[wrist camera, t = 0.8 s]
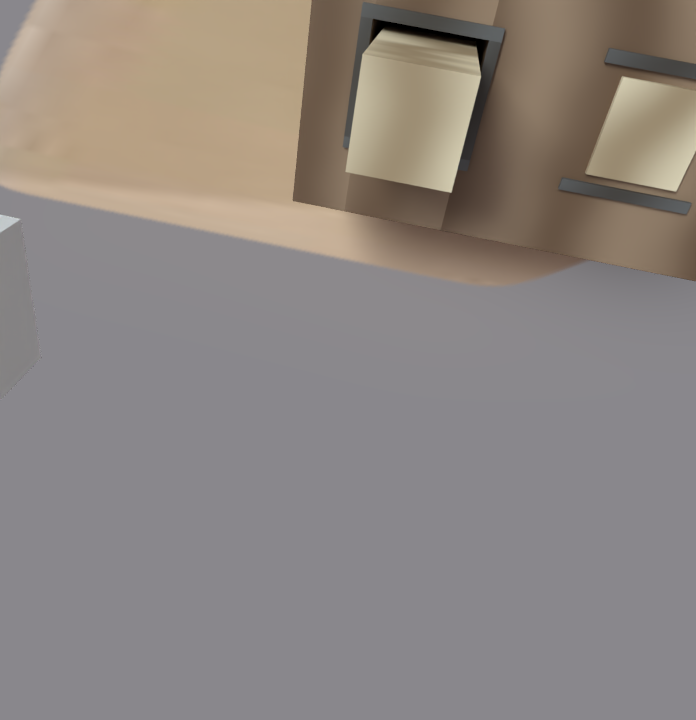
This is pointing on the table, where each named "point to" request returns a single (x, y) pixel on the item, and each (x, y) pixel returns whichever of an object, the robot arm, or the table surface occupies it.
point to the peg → (413, 107)
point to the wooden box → (531, 126)
